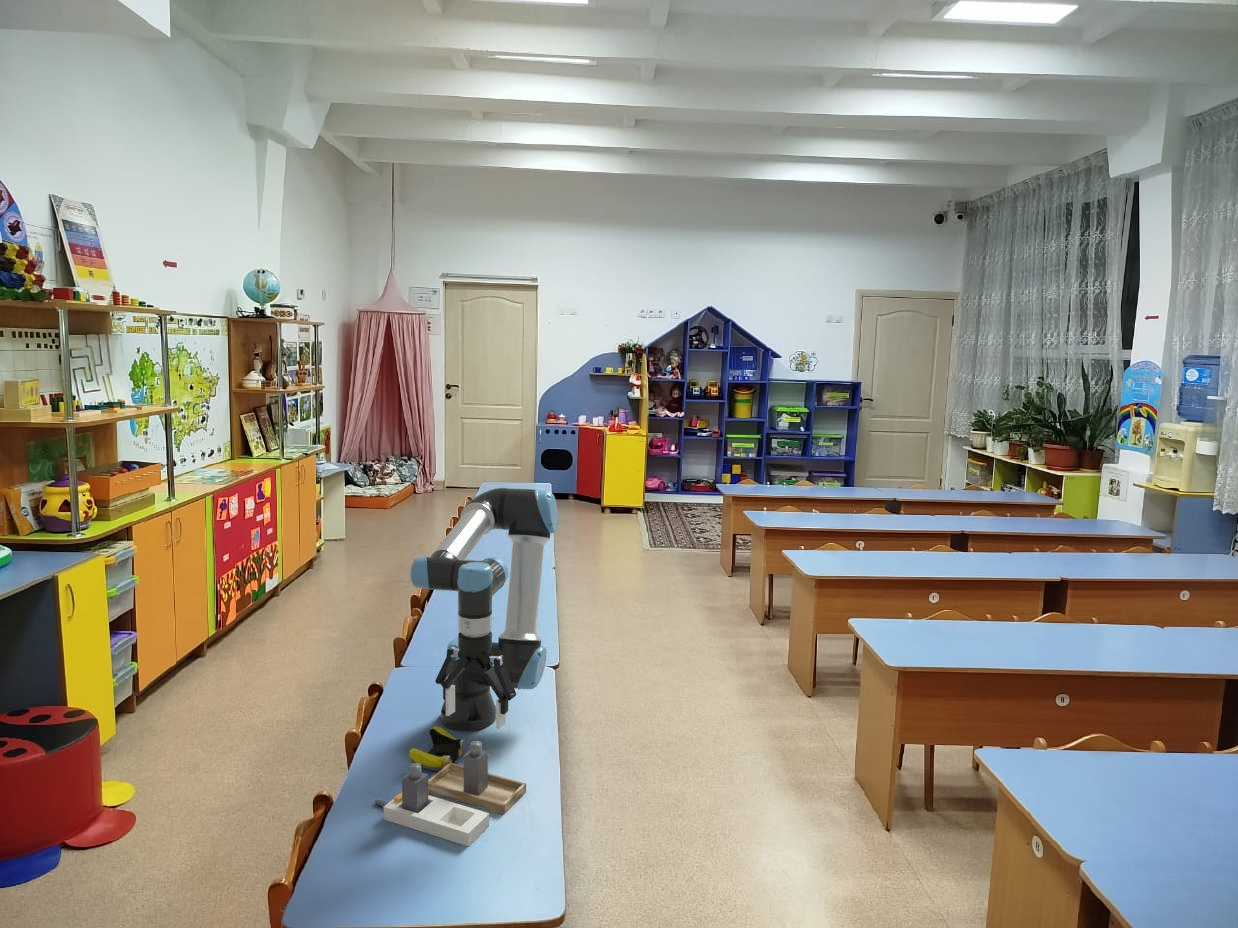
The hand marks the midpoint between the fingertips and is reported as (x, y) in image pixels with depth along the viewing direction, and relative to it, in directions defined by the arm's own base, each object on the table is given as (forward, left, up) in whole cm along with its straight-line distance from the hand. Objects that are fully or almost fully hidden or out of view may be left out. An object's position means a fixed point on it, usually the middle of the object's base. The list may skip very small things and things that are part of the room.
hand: (475, 719), depth 191 cm
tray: (0, 0, -18) cm, 18 cm away
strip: (+14, -4, -18) cm, 23 cm away
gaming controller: (-8, -16, -18) cm, 26 cm away
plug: (0, 0, -17) cm, 17 cm away
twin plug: (+14, -7, -18) cm, 23 cm away
